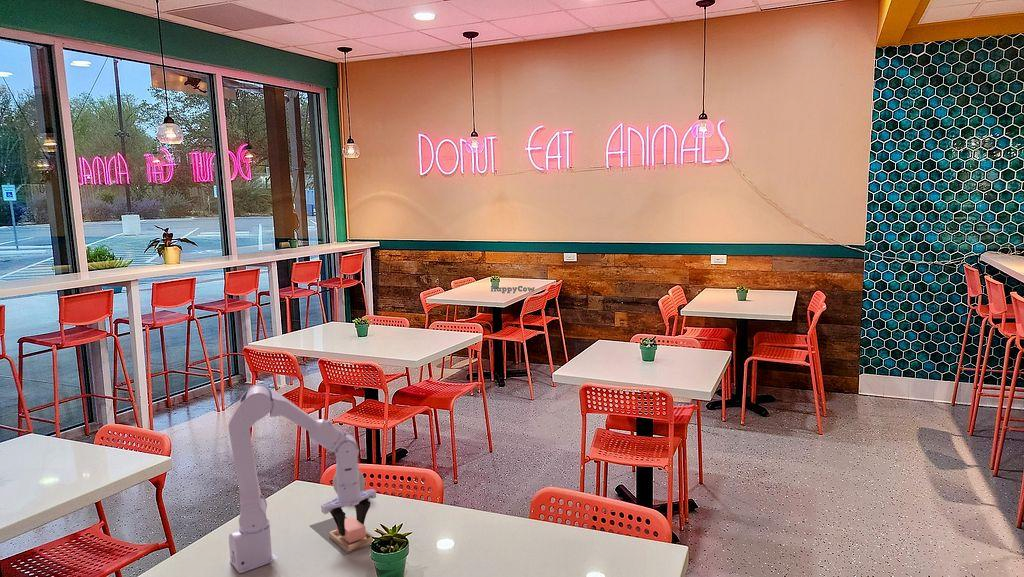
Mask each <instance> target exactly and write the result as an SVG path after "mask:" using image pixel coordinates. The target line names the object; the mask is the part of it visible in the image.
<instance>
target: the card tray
mask: <svg viewBox="0 0 1024 577" xmlns="http://www.w3.org/2000/svg"><path fill="white" fill-rule="evenodd" d="M372 537H374V538H375V536H374V535H372V534H371V533H370V532H369V531H367V530H366V537H365V538H362V539H360V540H357V541H354V542H351V543H349V542H348V541H346V540H345V539H344V538H343V537H342V536H340V535H339V534H338V533H337V530H334V531H331V532H329V538H330V539H331V540H332V541H333V542H334V543H336V544H337V545H338V546H339V547H340V548H341V549H343V550H344V551H345V552H346V553H349V552H352V551H354V550H357V549H360V548H363V547H365V546H368V545H370V544H371V543H372V541H373V539H372ZM375 539H376V538H375Z"/></svg>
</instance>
